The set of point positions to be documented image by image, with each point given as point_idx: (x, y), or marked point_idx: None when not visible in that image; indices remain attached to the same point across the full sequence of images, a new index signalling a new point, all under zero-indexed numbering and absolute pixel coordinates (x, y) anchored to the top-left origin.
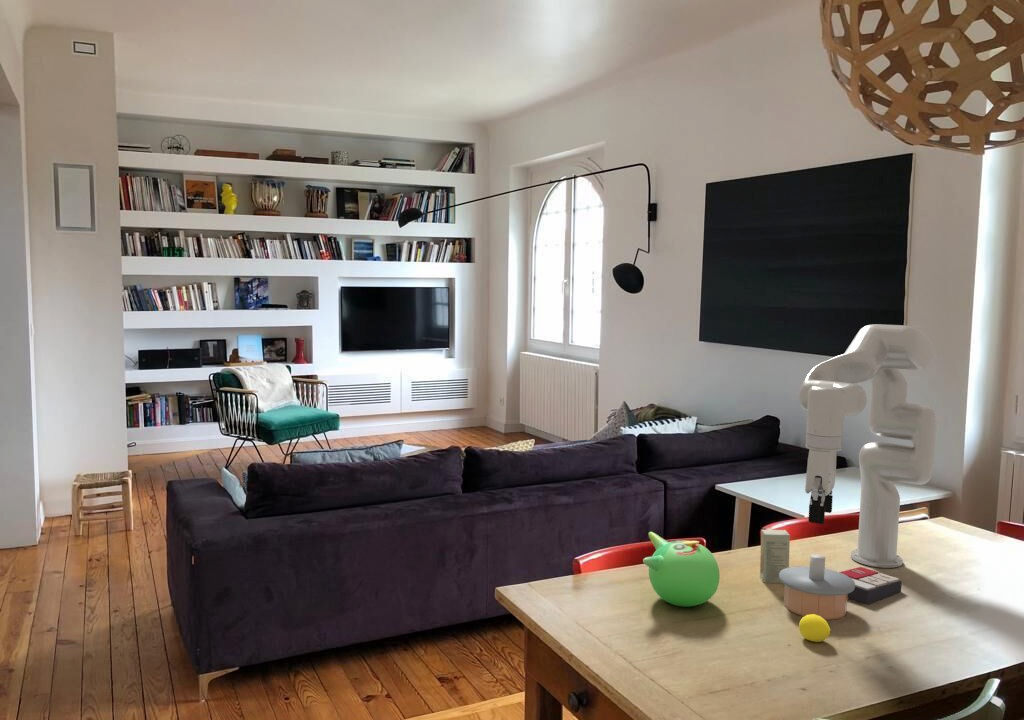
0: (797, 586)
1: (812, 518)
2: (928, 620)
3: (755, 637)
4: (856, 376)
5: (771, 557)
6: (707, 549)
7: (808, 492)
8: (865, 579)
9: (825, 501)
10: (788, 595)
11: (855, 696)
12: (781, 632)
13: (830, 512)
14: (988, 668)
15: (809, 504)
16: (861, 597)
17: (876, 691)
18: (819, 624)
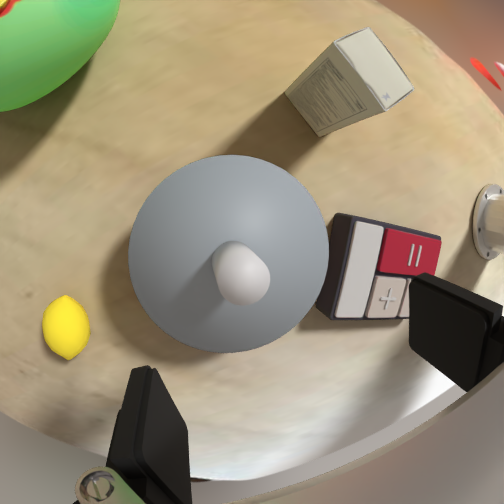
0: (129, 256)
1: (120, 411)
2: (315, 393)
3: (9, 239)
4: None
5: (317, 86)
6: (32, 18)
7: (238, 501)
8: (383, 287)
9: (451, 348)
10: None
11: (8, 406)
12: (55, 260)
13: (412, 344)
14: (205, 475)
15: (112, 458)
16: (323, 301)
17: (34, 420)
18: (51, 349)
